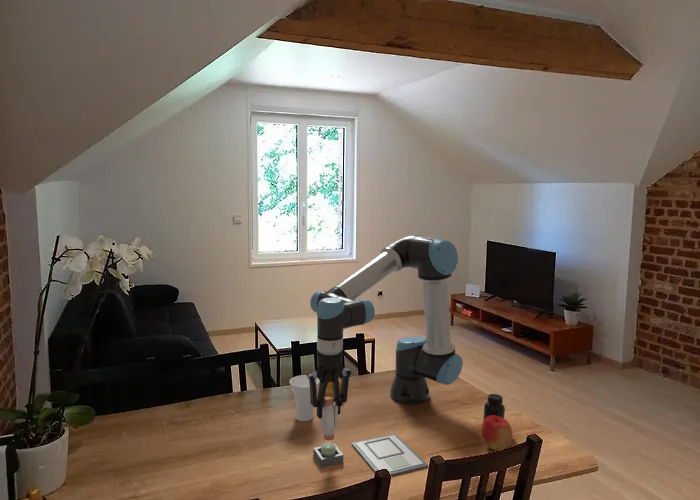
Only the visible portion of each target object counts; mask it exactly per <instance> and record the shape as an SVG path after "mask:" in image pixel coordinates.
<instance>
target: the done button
mask: <svg viewBox="0 0 700 500" xmlns="http://www.w3.org/2000/svg"><path fill="white" fill-rule="evenodd" d="M334 444H335V443H332V442H326V443H325V442H324V443H323V444H321V455H322V456H323V457H328V456H332V455H335V452H336V446H337V445H336V444H335V445H336V446H335V445H334Z"/></svg>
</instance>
